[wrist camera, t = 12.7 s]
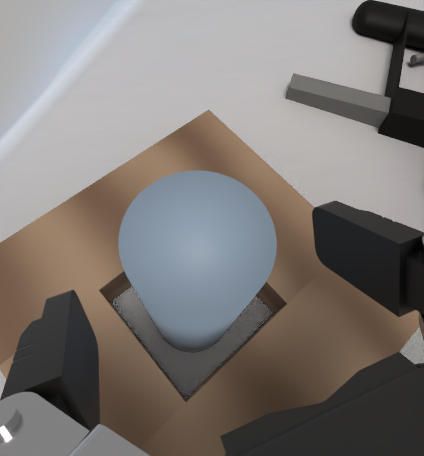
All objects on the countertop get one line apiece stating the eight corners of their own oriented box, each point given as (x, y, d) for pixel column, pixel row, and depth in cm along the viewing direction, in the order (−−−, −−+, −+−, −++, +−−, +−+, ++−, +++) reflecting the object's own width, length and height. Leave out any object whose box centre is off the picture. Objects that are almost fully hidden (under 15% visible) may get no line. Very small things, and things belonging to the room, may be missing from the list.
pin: (198, 263, 22) (211, 147, 11) (243, 319, 20) (309, 251, 10) (141, 306, 20) (87, 222, 9) (185, 368, 19) (182, 355, 8)
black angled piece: (271, 135, 24) (513, 202, 22) (326, -23, 32) (506, 15, 30) (264, 163, 27) (476, 224, 25) (315, 12, 35) (478, 49, 33)
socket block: (206, 138, 26) (208, 109, 23) (397, 322, 21) (429, 313, 18) (-24, 292, 20) (-57, 279, 17) (170, 591, 15) (167, 637, 13)
